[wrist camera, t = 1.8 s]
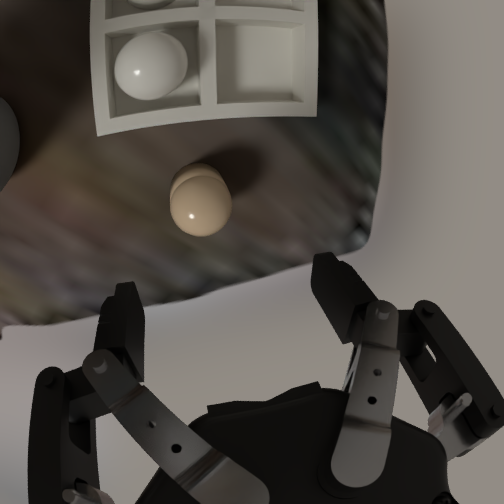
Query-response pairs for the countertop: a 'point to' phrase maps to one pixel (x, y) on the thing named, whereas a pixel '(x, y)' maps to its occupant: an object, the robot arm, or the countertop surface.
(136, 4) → the white egg middle
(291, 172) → the countertop surface
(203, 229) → the tan egg
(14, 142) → the smart speaker
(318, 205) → the countertop surface
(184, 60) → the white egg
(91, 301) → the countertop surface
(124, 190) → the countertop surface
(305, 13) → the egg carton
